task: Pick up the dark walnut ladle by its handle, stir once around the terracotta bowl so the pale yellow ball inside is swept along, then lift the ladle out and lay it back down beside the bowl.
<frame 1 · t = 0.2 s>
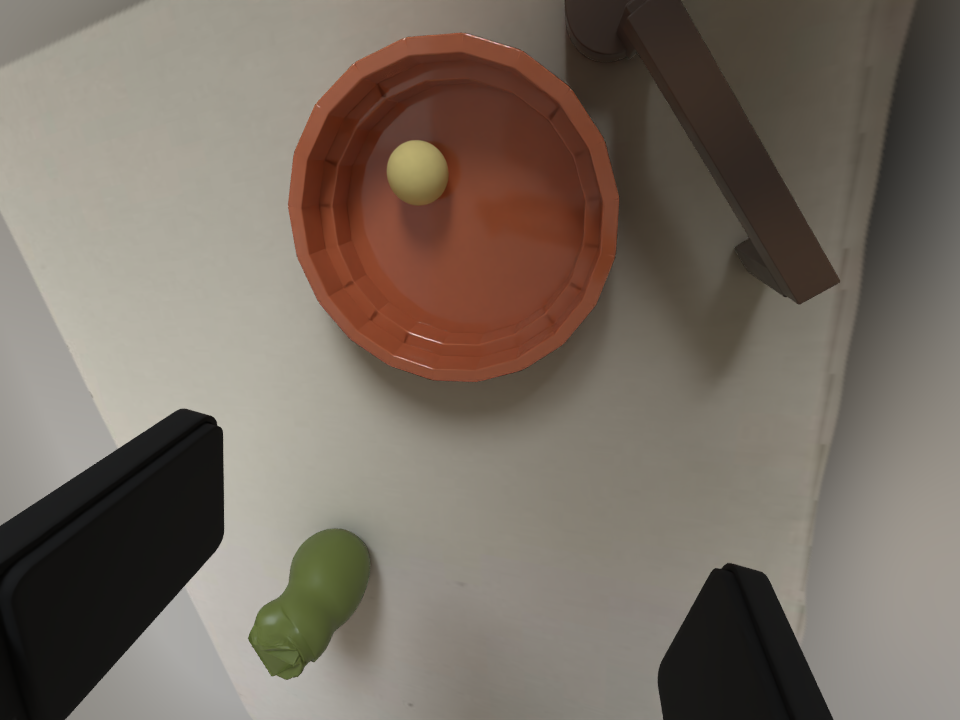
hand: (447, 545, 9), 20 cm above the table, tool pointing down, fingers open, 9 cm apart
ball: (417, 173, 24), point 2 cm above the table, touching bowl
ladle: (610, 10, 22), on the table
bowl: (463, 219, 27), on the table
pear: (347, 540, 38), on the table
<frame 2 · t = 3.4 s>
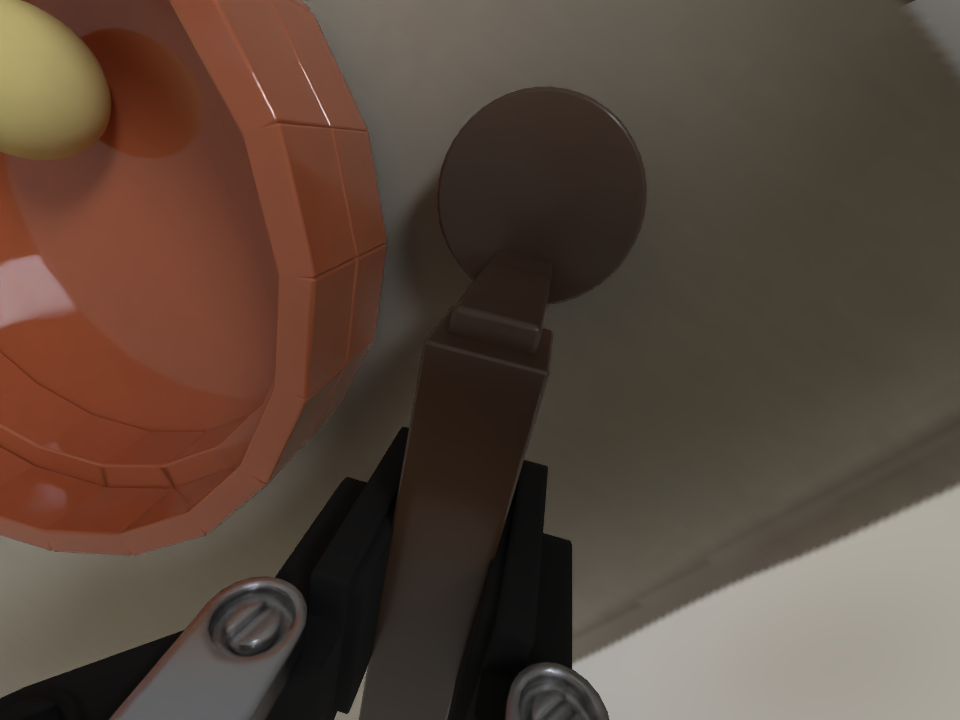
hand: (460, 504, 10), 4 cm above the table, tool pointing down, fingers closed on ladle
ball: (21, 82, 10), point 2 cm above the table, touching bowl
ladle: (543, 196, 11), on the table, touching gripper
bowl: (116, 216, 13), on the table
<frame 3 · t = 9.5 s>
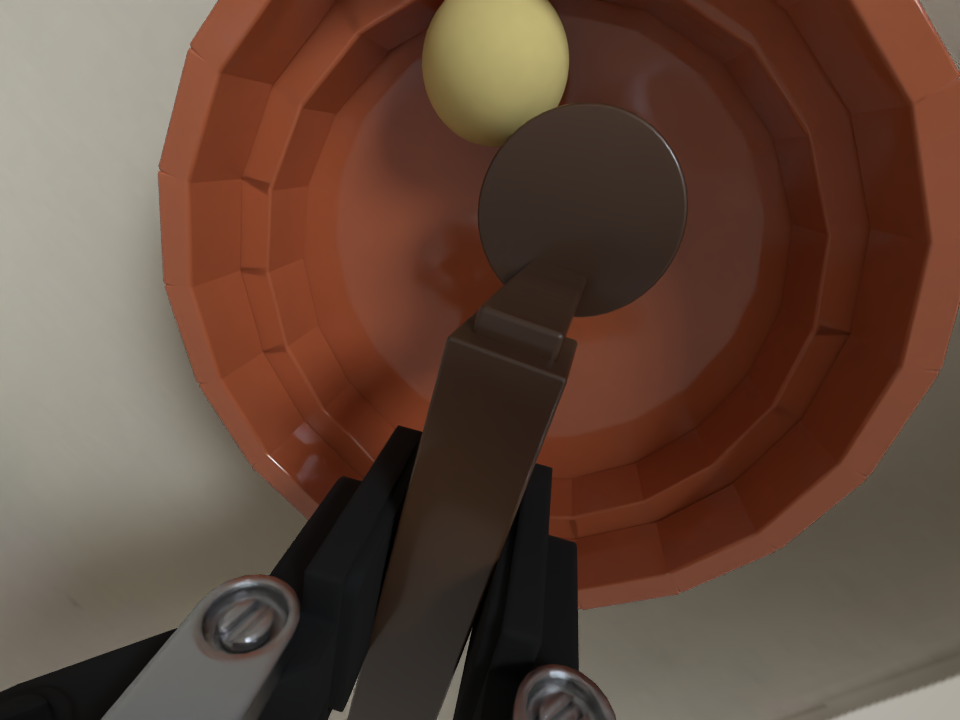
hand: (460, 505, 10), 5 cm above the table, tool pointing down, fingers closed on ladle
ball: (495, 67, 10), point 2 cm above the table, tilted 81°, touching bowl, ladle
ladle: (584, 211, 11), point 2 cm above the table, tilted 6°, touching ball, gripper
bowl: (528, 276, 14), on the table
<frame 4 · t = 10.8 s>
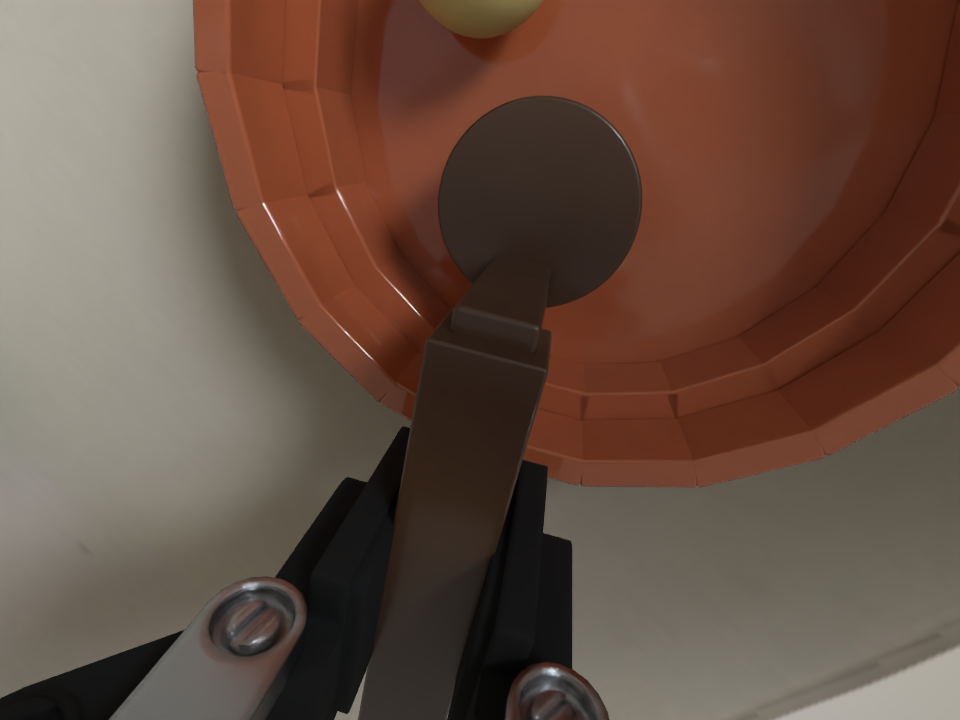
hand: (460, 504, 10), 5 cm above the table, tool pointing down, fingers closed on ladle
ladle: (541, 202, 12), point 1 cm above the table, touching gripper
bowl: (617, 106, 12), on the table
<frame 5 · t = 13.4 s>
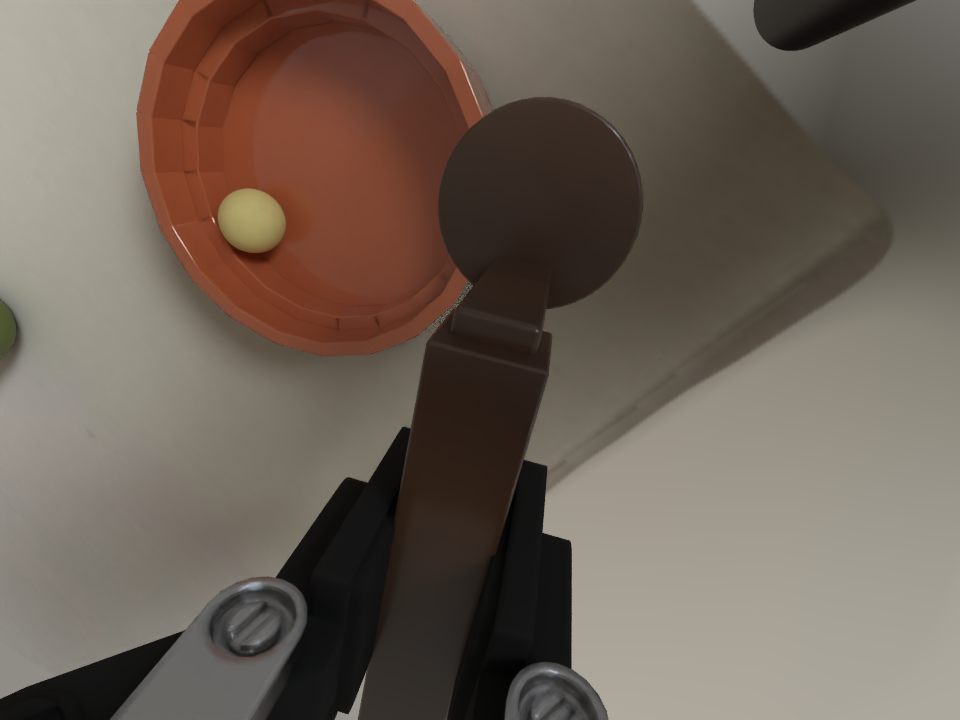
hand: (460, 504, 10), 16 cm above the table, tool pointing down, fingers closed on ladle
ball: (252, 221, 24), point 2 cm above the table, tilted 163°, touching bowl
ladle: (541, 204, 12), point 12 cm above the table, touching gripper
bowl: (349, 178, 24), on the table
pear: (3, 313, 31), on the table
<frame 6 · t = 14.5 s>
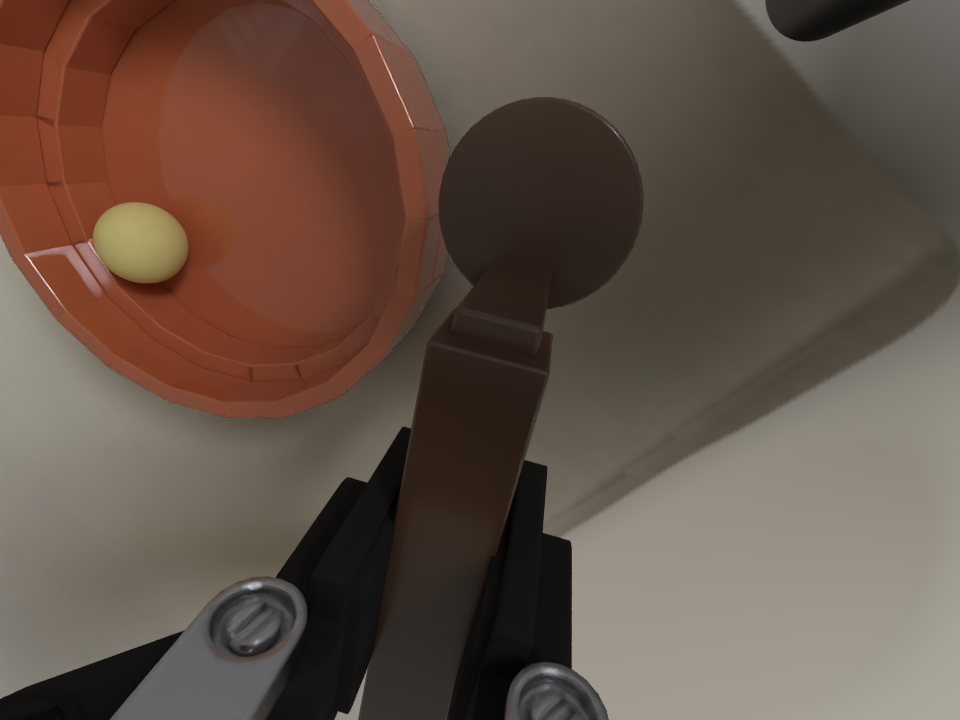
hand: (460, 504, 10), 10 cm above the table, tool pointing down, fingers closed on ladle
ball: (143, 243, 19), point 2 cm above the table, tilted 159°, touching bowl
ladle: (542, 204, 12), point 6 cm above the table, touching gripper
bowl: (263, 191, 19), on the table
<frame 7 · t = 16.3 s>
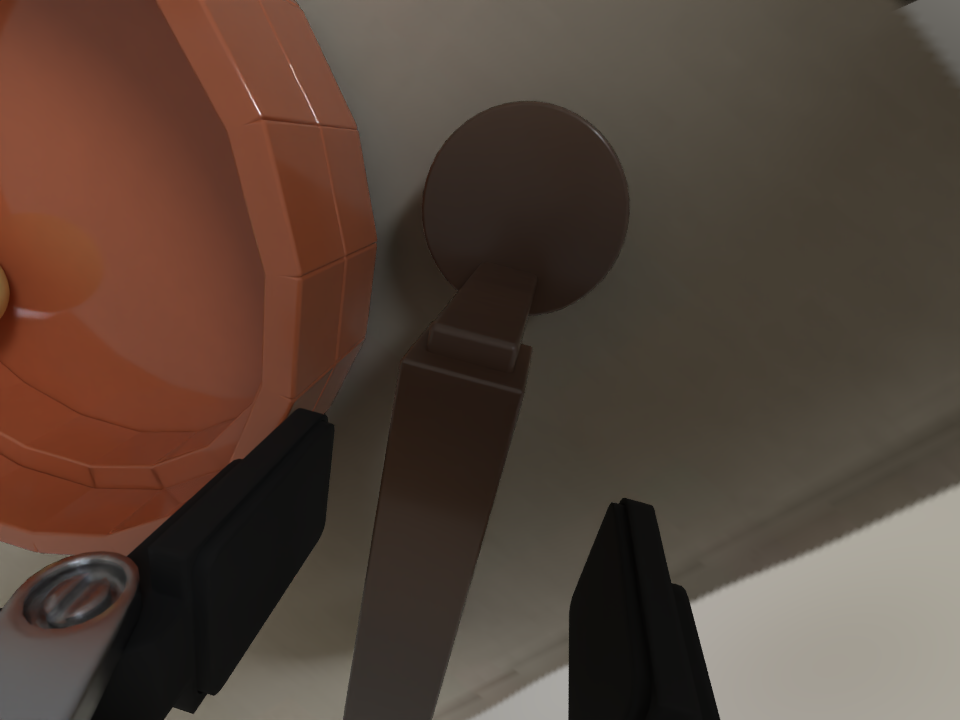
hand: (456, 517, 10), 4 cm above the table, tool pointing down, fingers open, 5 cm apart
ladle: (529, 207, 11), on the table
bowl: (105, 214, 13), on the table
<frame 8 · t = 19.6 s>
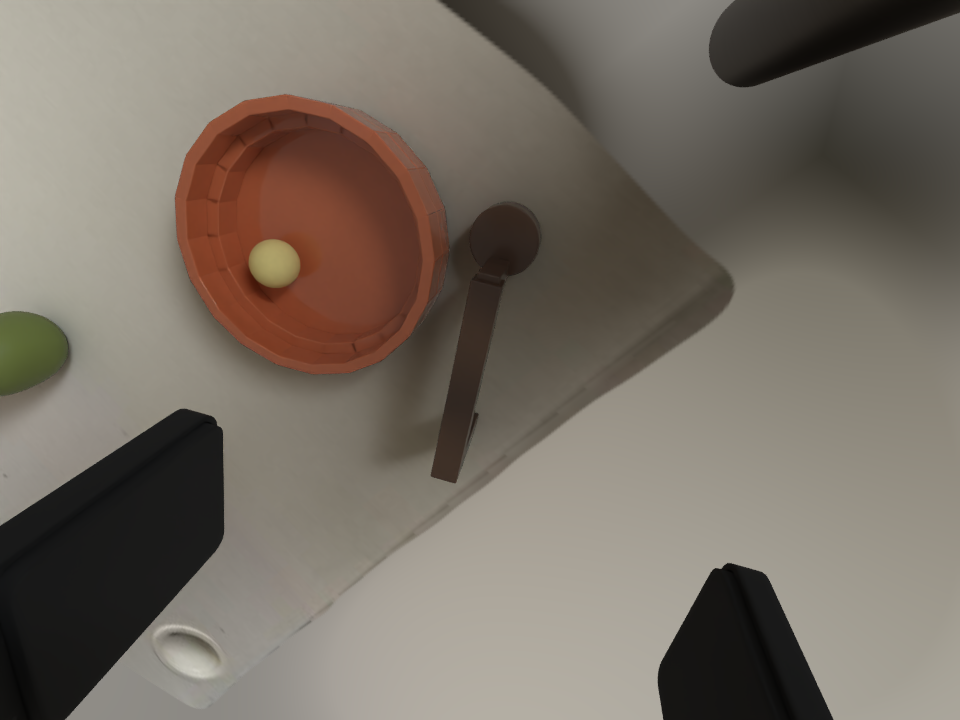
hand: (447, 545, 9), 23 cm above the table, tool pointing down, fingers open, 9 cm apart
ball: (274, 263, 31), point 2 cm above the table, tilted 126°, touching bowl
ladle: (507, 236, 30), on the table
bowl: (333, 238, 32), on the table
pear: (56, 335, 39), on the table
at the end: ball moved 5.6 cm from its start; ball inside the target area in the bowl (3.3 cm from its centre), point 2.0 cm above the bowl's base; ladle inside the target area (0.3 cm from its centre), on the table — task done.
